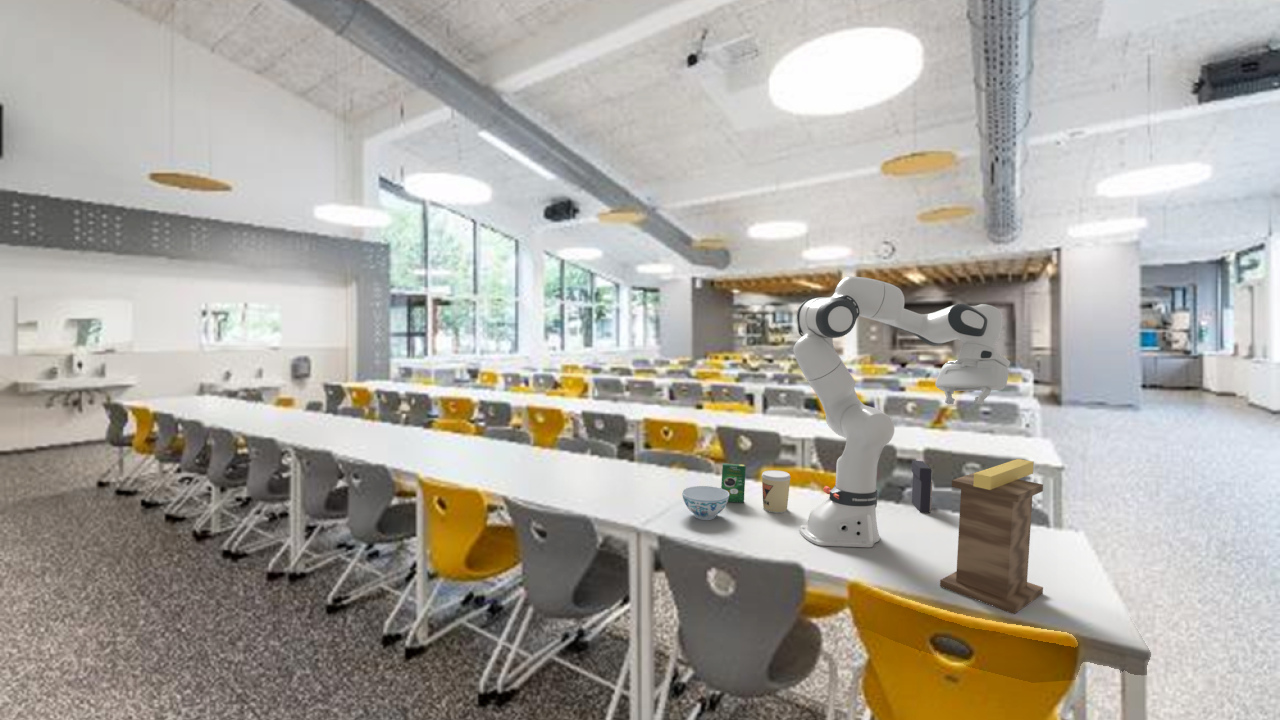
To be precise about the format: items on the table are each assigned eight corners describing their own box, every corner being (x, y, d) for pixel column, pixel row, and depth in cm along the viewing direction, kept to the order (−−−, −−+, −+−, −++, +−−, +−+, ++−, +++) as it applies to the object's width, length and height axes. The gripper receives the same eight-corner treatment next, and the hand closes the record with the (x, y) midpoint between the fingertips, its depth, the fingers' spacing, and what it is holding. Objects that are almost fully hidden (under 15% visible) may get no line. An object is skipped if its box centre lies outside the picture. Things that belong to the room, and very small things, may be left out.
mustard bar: (989, 489, 130) (990, 476, 130) (973, 486, 133) (974, 473, 133) (1032, 473, 144) (1033, 461, 144) (1017, 470, 147) (1017, 458, 147)
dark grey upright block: (932, 513, 192) (934, 468, 191) (918, 512, 193) (920, 468, 192) (922, 503, 203) (925, 460, 202) (909, 502, 204) (911, 460, 203)
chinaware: (702, 505, 198) (703, 483, 197) (738, 517, 187) (738, 493, 186) (671, 515, 187) (672, 492, 187) (707, 528, 177) (708, 503, 176)
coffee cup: (757, 504, 199) (758, 470, 198) (784, 504, 200) (785, 469, 199) (765, 513, 190) (766, 477, 189) (793, 513, 191) (794, 477, 190)
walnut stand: (1014, 614, 127) (1021, 497, 125) (940, 586, 140) (945, 479, 138) (1042, 593, 137) (1049, 484, 135) (970, 569, 149) (976, 469, 147)
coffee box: (744, 500, 204) (745, 463, 203) (744, 503, 201) (745, 465, 200) (720, 499, 204) (721, 462, 203) (721, 502, 201) (722, 464, 200)
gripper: (937, 357, 176) (925, 399, 174) (1001, 352, 157) (988, 399, 155) (951, 365, 178) (940, 407, 175) (1016, 361, 159) (1004, 408, 156)
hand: (963, 403), depth 165 cm, fingers open, 8 cm apart
